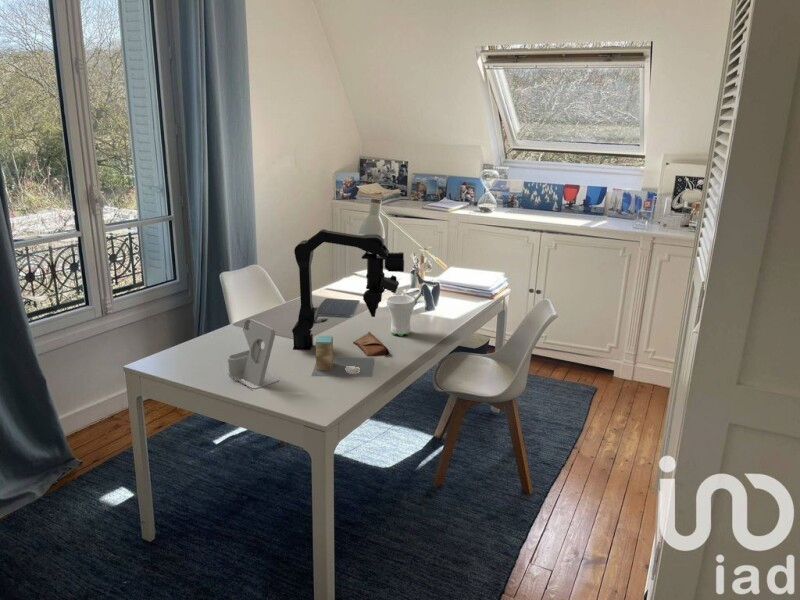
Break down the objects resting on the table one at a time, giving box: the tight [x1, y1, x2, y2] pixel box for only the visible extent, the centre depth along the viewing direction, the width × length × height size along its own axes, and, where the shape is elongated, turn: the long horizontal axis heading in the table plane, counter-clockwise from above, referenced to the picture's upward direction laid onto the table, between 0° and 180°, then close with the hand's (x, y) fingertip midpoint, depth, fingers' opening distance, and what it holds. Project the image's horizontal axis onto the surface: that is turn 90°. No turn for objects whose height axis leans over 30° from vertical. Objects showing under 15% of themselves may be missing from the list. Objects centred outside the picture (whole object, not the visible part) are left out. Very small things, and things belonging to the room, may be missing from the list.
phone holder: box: [227, 318, 280, 390], centre depth 195 cm, size 17×10×18 cm, turn 44°
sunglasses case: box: [352, 331, 390, 358], centre depth 223 cm, size 18×7×7 cm, turn 24°
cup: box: [385, 294, 416, 337], centre depth 237 cm, size 11×11×14 cm
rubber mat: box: [311, 356, 375, 378], centre depth 206 cm, size 20×16×1 cm
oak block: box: [315, 335, 334, 370], centre depth 205 cm, size 5×6×10 cm
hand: (374, 312), depth 218 cm, fingers open, 9 cm apart
